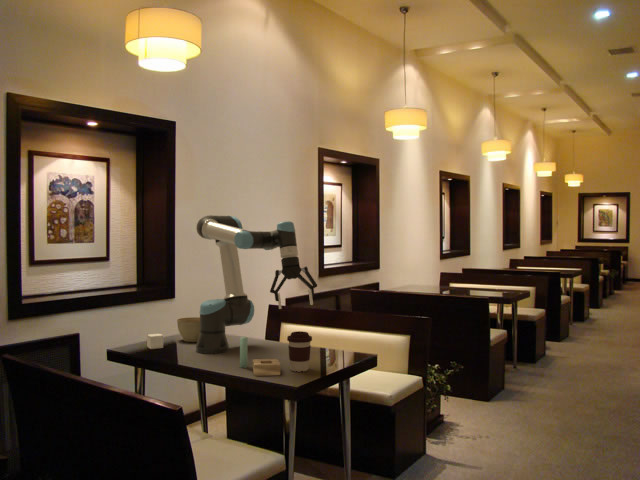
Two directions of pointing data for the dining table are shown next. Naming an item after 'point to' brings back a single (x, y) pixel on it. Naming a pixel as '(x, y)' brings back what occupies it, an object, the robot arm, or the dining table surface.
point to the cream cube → (154, 341)
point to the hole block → (266, 367)
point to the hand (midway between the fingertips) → (296, 306)
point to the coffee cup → (299, 350)
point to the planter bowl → (189, 328)
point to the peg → (243, 352)
